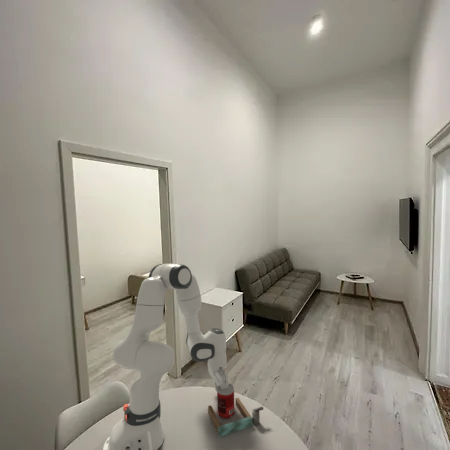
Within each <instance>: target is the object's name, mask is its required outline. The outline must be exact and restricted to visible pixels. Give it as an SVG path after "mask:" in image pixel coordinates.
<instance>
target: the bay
mask: <svg viewBox="0 0 450 450" xmlns="http://www.w3.org/2000/svg"><path fill="white" fill-rule="evenodd" d="M234 404H235V406H236V408H237V409H238V411H239V412H240V415H241V416H242V417H243V418H241V419H238V420H235V421H231V422H228V423H225V424H223V425H221V422H220V420H219V418H218V416H217V414H216V413H215V410H214V409H213V406H212V405H208V406H207V414H208V416H209V418H210V420H211V422H212V425H213V427H214V428H215V430H216V431H215V432H216V433H217V435H218V437H219V438H220V437H223V436H226V435H230V434H232V433H236V432H239V431H241V430H244V429H246V428H249V427H253V426H255V427H256V426H259V425H260V423H261V422H260V421H261V420H260V411H263V410H264V407H263V406H260V407H259V406H258V407H257V408H253V409H252V416H251V414H250V412H249V410H247V408H246V406H245V405H244V404H243V403H242V401H241V399H240V398H239V397H234Z"/></svg>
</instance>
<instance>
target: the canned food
mask: <svg viewBox="0 0 450 450" xmlns="http://www.w3.org/2000/svg"><path fill="white" fill-rule="evenodd" d="M216 398H217V399H216V402H217V404H216V405H217V414H218V416H219V417H220V418H222V419H230V418H231V417H233V416H234V414H235V387H234V385H233V384H232V383H229V388H227V389H223V390H222V389H221V388H220V385H219V386H218V387H217V391H216Z"/></svg>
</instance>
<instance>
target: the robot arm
mask: <svg viewBox="0 0 450 450" xmlns="http://www.w3.org/2000/svg"><path fill="white" fill-rule="evenodd" d="M168 290H175V292H176V293H175V294H176V299H177V302H178V303H177V304H178V307H179V309H180V311H181V314H183V316H184V318H185V319H184V320H185V324H186V329H187V335H186V339H185V344H186V346H187V349H188V352H189V354H190V355H189V356H190V357H191V359H192V360H193V361H194V362H197V363H201V362H202V363H203V362H206V361H207V371H208V374H209V376H210V377H211V379H212V380H213V382H214V386H215V391H216V392H217V387H218V386H219V385H220V388H221V389H222V390H223V389H227V388H229V384H230V383H229V377H228V375H227V372H226V371H225V369H226V368H227V366H228V365H227V364H228V363H227V362H228V361H227V360H228V359H227V353H226V351H227V338H226V333H225V332H224V331H223V330H222V329H220V328H216V327H215V328H210V329H209V330H208V331H207V332H206V333H205V334H204V332H203V331H202V330H201V326H200V321H199V315H198V313H199V312H200V311H201V310H202V295H201V290H200V287H199V284H198V281H197V279H196V276H195V274H193V273H192V272H191V269H190V268H189V267H188V266H187V265H185V264H182V263H170V262H169V263H160V264H157V265H154V266H153V267H152V268H151V270H150V271H149V274H148V276H147V278H145V279H144V280H142V282H141V284H140V287H139V290H138V294H137V298H136V307H135V312H134V317H133V322H132V326H131V327H130V330H129V331H128V333H127V334H126V336H125V337H124V338H123V339H121V340H120V341H119V342H118V343H117V344H116V346H115V348H114V350H113V355H112V356H113V361H114V364H116V365H117V366H119V367H121V368H123V369H127V370H131V371H136V372H139V373H140V377H138V378H137V379H135V380H134V381H133V382H132V384H131V386H130V388H129V404H128V403H125V404H123V406H122V407H123V412H124V413H123V416H124V417H123V418H122V419H120V420H119V421H118V422H116V423H115V425H114V426H113V427H112V429H111V432H110V434H109V436H108V437H107V438H106V440H105V442H104V444H103V447H102V450H158V449H159V448H160V447H161V446H162V444H163V442H164V439H165V434H164V431H163V428H162V422H161V421H162V420H161V417H162V415H161V414H162V408H161V407H162V405H161V401H160V400H161V399H160V384H161V381H162V378H163V377H164V376H165V375H166V374H168V373H169V372H170V370H172V368H173V366H174V364H175V361H176V356H175V355H176V354H175V353H176V352H175V350H174V349H173V347H172V346H171V345H168V344H166V343H163V342H160V341H153V340H149V339H150V336H151V333H152V332H154V331H156V330H157V329H159V328H160V327H161V325H162V324H163V315H164V308H165V307H164V306H165V295H166V292H167V291H168Z"/></svg>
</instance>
